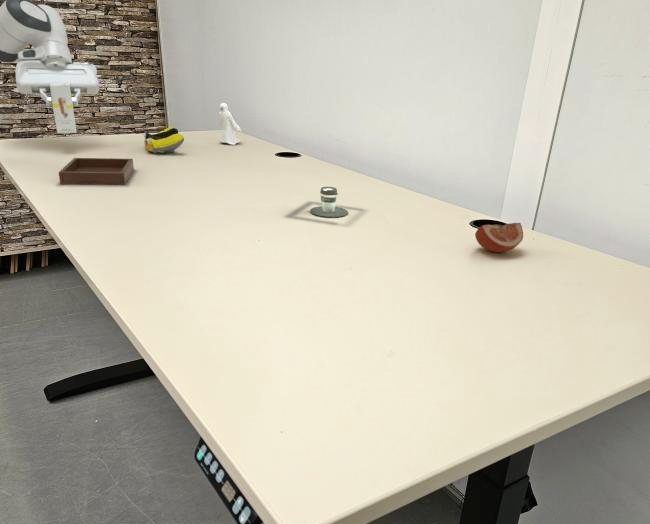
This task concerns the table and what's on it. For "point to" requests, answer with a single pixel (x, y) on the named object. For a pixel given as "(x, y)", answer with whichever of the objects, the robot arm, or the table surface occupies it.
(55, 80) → the robot arm
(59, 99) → the ink box
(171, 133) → the yellow rounded piece
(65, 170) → the tray
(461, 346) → the table surface
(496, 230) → the fruit slice
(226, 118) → the figurine
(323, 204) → the coffee cup
